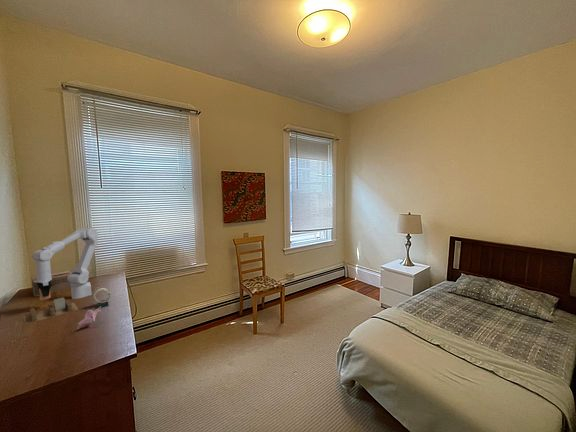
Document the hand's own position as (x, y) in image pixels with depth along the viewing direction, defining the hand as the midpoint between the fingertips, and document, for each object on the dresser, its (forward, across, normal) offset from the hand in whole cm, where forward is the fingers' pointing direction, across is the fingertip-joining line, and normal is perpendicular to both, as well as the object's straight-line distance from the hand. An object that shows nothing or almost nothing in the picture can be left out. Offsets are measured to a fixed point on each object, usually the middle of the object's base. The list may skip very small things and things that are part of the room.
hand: (45, 295), depth 133 cm
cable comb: (+8, +9, +1) cm, 13 cm away
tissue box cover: (+9, -39, +10) cm, 41 cm away
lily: (+9, +42, +12) cm, 44 cm away
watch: (+9, +21, +21) cm, 31 cm away
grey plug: (+8, +9, +5) cm, 13 cm away
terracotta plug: (+2, 0, 0) cm, 2 cm away
